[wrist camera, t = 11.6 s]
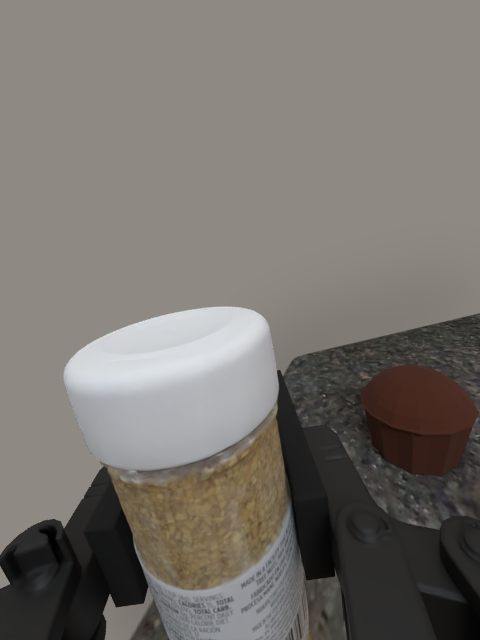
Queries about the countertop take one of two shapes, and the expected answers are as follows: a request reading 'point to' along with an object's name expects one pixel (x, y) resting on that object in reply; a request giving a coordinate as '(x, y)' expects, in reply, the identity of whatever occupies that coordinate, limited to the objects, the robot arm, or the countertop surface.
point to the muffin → (418, 418)
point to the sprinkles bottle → (198, 469)
